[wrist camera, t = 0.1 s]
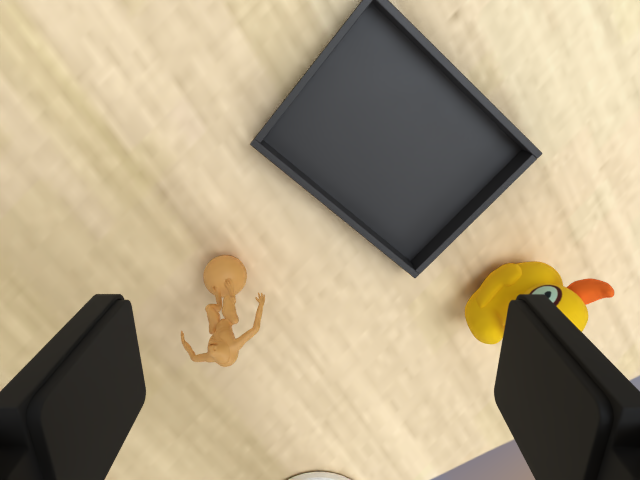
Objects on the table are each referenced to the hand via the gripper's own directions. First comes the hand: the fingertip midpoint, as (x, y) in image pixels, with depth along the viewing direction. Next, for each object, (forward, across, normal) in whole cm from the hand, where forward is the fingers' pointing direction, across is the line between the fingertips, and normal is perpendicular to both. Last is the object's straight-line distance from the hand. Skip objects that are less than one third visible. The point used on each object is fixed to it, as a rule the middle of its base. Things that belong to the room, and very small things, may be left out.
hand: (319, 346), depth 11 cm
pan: (+31, +6, 0) cm, 32 cm away
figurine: (+31, -8, -13) cm, 35 cm away
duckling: (+31, +19, -14) cm, 39 cm away
